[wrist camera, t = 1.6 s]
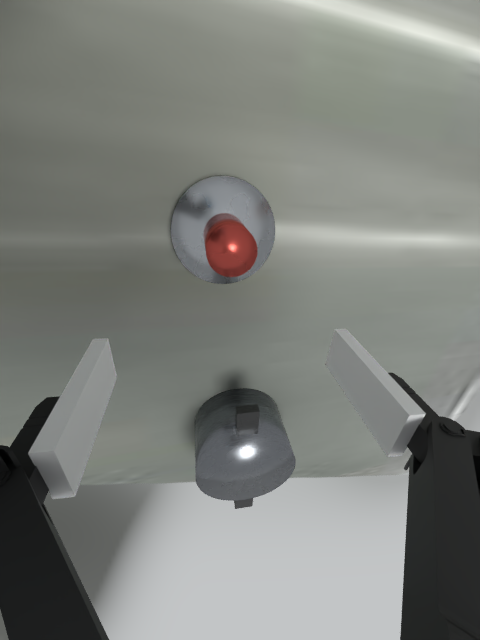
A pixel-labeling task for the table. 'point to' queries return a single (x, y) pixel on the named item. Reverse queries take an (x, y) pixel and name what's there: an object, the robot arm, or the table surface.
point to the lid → (222, 229)
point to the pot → (241, 447)
